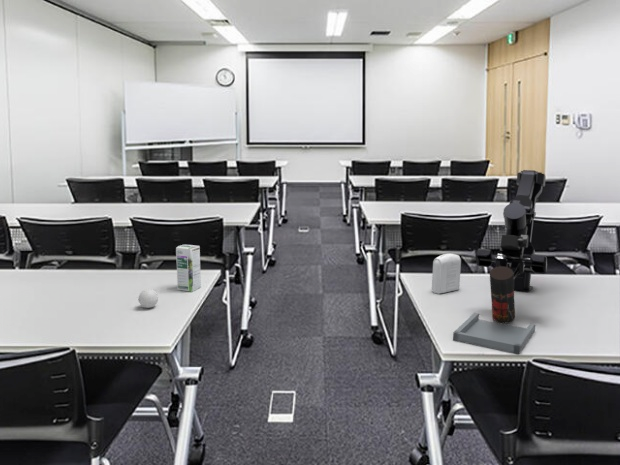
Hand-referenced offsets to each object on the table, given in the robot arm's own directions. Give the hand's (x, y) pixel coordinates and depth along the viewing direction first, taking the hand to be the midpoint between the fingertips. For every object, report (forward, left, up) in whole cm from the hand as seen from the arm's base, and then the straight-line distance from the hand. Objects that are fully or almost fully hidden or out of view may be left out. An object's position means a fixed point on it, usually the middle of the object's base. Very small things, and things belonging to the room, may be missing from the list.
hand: (505, 286), depth 151 cm
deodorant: (-1, 0, -9) cm, 9 cm away
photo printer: (-19, -23, -10) cm, 31 cm away
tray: (+12, +1, -10) cm, 16 cm away
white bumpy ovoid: (+46, -92, -10) cm, 104 cm away
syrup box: (+26, -95, -10) cm, 99 cm away
